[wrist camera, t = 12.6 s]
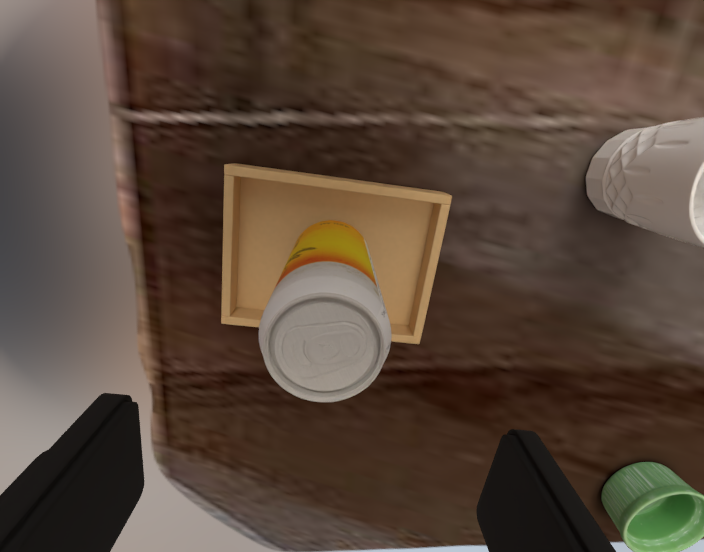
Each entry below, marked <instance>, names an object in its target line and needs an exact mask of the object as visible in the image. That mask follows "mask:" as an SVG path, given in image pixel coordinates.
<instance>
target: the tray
mask: <svg viewBox="0 0 704 552" xmlns="http://www.w3.org/2000/svg"><path fill="white" fill-rule="evenodd" d="M224 174H225V175H224V212H223V261H222V309H221V315H222V316H221V323H222V324H231V325H240V326H250V327H259V325H260V321H261V317H262V315H263V312H264V310H265V308H266V306H267V304H268V301H269V299H270V297H271V295H272V293H273V291H274V289H275V286H276V284H277V282H278V280H279V278H280V276H281V273H282V271H283V269H284V267H285V265H286V263H287V261H288V258H289V256H290V254H291V252H292V250H293V248H294V245H295V243H296V241H297V239H298V238H299V236H300V235H301V234H302V232H303V231H304V230H306V229H307V228H308V227H310V226H311V225H313V224H315V223H318V222H321V221H326V220H336V221H341V222H344V223H347V224H349V225H351V226H352V227H354V228H355V229H356V230H358V231H359V232H360V234H361V235H362V236H363V237H364V239H365V241H366V243H367V246H368V249H369V252H370V256H371V259H372V263H373V266H374V270H375V273H376V276H377V280H378V283H379V287H380V290H381V294H382V297H383V301H384V304H385V307H386V311H387V314H388V318H389V321H390V325H391V341H393V342H403V343H413V344H420V339H421V335H422V331H423V326H424V322H425V317H426V313H427V308H428V304H429V299H430V295H431V290H432V286H433V281H434V277H435V272H436V268H437V263H438V259H439V254H440V250H441V245H442V241H443V236H444V231H445V227H446V222H447V218H448V213H449V209H450V204H451V199H452V196H451V195H449V194H447V193H444V192H441V191H433V190H426V189H419V188H411V187H404V186H397V185H390V184H382V183H375V182H368V181H361V180H353V179H346V178H339V177H331V176H324V175H317V174H310V173H302V172H295V171H288V170H281V169H273V168H266V167H259V166H251V165H244V164H237V163H233V164H226V165H224Z"/></svg>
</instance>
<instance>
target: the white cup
mask: <svg viewBox="0 0 704 552" xmlns="http://www.w3.org/2000/svg"><path fill="white" fill-rule="evenodd" d="M586 189H587V196H588V198H589V199H590V201H591V202H592V204H593V205H594V206H595V208H596V209H597V210H599V211H601V212H603V213H606V214H608V215H610V216H612V217H616V218H619V219H622V220H624V221H625V222H627V223H630V224H633V225H636V226H639V227H641V228H644V229H647V230H650V231H653V232H655V233H658V234H661V235H664V236H667V237H670V238H673V239H676V240H679V241H683V242H686V243H689V244H692V245H695V246H698V247H701V248H704V117H699V118H694V119H689V120H681V121H674V122H669V123H663V124H660V125H657V126H652V127H646V128H638V129H629V130H625V131H623V132H622V133H620V134H618V135H616V136H614V137H613V138H611V139H609V140H607V141H606V142H605V143H604V144H603V146H602V147H601V148H600V149H599V150H598V152H597V153H596V154H595V155H594V156H593V158H592V160H591V163H590V166H589V169H588V172H587V174H586Z"/></svg>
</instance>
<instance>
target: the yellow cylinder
mask: <svg viewBox="0 0 704 552" xmlns="http://www.w3.org/2000/svg"><path fill="white" fill-rule="evenodd" d="M259 344H260V349H261V352H262V354H263V357H264V361H265V364H266V367H267V369H268V371H269V373H270V374H271V376H272V377H273V379H274V380H275V381H276V382H277V383H278V384H279V385H280V386H281V387H282V388H283V389H285V390H286V391H288V392H289V393H291V394H293V395H295V396H297V397H299V398H302V399H305V400H309V401H314V402H335V401H340V400H344V399H347V398H350V397H352V396H354V395H356V394H358V393H360V392H361V391H363V390H364V389H365V388H367V387H368V386H369V385H370V384H371V383H372V382H373V381H374V380H375V378H376V377H377V375H378V374H379V372H380V370H381V368H382V365H383V363H384V361H385V360H386V358H387V355H388V353H389V349H390V345H391V325H390V321H389V318H388V314H387V311H386V307H385V304H384V301H383V297H382V294H381V290H380V287H379V283H378V280H377V276H376V273H375V270H374V266H373V263H372V259H371V256H370V252H369V249H368V246H367V243H366V241H365V239H364V237H363V236H362V235H361V234H360V232H359V231H358V230H356V229H355V228H354V227H352V226H351V225H349V224H347V223H344V222H341V221H336V220H326V221H321V222H318V223H315V224H313V225H311V226H310V227H308V228H307V229H306V230H304V231H303V232H302V234H301V235H300V236H299V238H298V239H297V241H296V243H295V245H294V248H293V250H292V252H291V254H290V256H289V258H288V261H287V263H286V265H285V267H284V269H283V271H282V273H281V276H280V278H279V280H278V282H277V284H276V286H275V289H274V291H273V293H272V295H271V297H270V299H269V301H268V304H267V306H266V308H265V310H264V312H263V315H262V317H261V321H260V325H259Z"/></svg>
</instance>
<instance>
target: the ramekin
mask: <svg viewBox="0 0 704 552" xmlns="http://www.w3.org/2000/svg"><path fill="white" fill-rule="evenodd" d="M601 497H602V503H603V505H604V507H605V509H606V511H607V513H608V514H609V516H610V517H611V519H612V520H613V522H614V524H615V525H616V527H617V528H618V530H619V531H620V534H621V537H622V539H623V541H624V542H625V544H626V545H627V546H628V548H630V549H631V550H632V551H634V552H680V551H682V550H684V549H686V548H688V547H690V546H692V545H693V544H695V543H696V542H698V541H699V540H700V539H701V538H702V537H703V536H704V496H703V495H702V494H701V493H699V492H698V491H696V490H694V489H693V488H691V487H690V486H689V485H688V484H687V483H685V482H684V481H683V480H682V479H681V478H679V477H678V476H677V475H676V474H675V473H674V472H672V471H671V470H670V469H669V468H667V467H666V466H664V465H662V464H659V463H655V462H639V463H635V464H631V465H629V466H626V467H624V468H622V469H620V470H619V471H617V472H616V473H615V474H613V475H612V476H611V477H610V478H609V479H608V481H607V482H606V484H605V485H604V487H603V490H602V496H601Z"/></svg>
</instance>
